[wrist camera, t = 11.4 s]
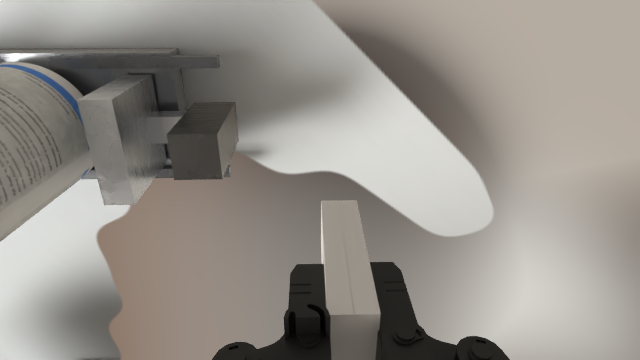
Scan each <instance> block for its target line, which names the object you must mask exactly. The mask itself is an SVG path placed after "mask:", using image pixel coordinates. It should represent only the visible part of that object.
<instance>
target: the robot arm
mask: <svg viewBox="0 0 640 360" xmlns="http://www.w3.org/2000/svg"><path fill="white" fill-rule="evenodd" d="M321 259H322V264H298V265H296V266H295V268H294V269H293V271H292V272H291V275H290V292H289V308H288V310H287V311H286V313H285V316H284V329H285V333H284V335H283V336H282V337H281V339H280V340H278V341H277V342H275V343H274V344H272V345H269V346H266V347H263V348H260V349H256V348H255V347H254V346H253V345H251V344H249V343H246V342H235V343H231V344H228V345H226V346H224V347H223V348H221V349H220V350H219V351H218V352H217V353H216V355H215V356H214V357H213V359H212V360H510V359H509V358H508V357H507V356H506V355H505V354H504V352H503V351H502V350H501V349H500V348H499V347H498V346H497V345H496V344H495V343H493V342H491V341H489V340H488V339H486V338H482V337H478V336H469V337H466V338H463V339H461V340H460V341H459V343H458V344H457V345H454V344H450V343H446V342H441V341H439V340H436V339H433V338H432V337H430V336H428V335H427V334H426V333H425V331H424V329H423V328H422V327H420V326H419V325H418V323H417V320H416V317H415V314H414V311H413V308H412V304H411V301H410V298H409V295H408V292H407V288H406V285H405V283H404V279H403V275H402V272H401V270H400V269H399V268H398V267H397V266H396V265H395V264H394V263H393V262H370V261H369V257H368V252H367V248H366V242H365V238H364V233H363V228H362V224H361V219H360V215H359V210H358V205H357V200H340V201H339V200H338V201H321Z"/></svg>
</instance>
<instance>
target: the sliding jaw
mask: <svg viewBox="0 0 640 360" xmlns="http://www.w3.org/2000/svg"><path fill="white" fill-rule="evenodd" d="M77 103H78V107H79V111H80V115H81V118H82V122H83V126H84V130H85V133H86V137H87V141H88V145H89V149H90V152H91V156H92V160H93V164H94V167H95V171H96V175H97V179H98V183H99V186H100V190H101V194H102V198H103V201H104V205H132V204H136V203H137V201H138V200H139V199H140V197H141V196H142V195H143V193H144V192H145V191H146V189H147V188H148V186H149V185H150V184H151V183H152V181H153V180H154V179H155V177H156V176H157V175H158V173H159V172H160V171H161V169H162V168H163V167H164V165H165V164H166V163H167V158H166V152H165V147H164V143H168V146H169V152H170V158H171V163H172V169H173V175H174V180H192V179H223V176H224V174H225V172H226V169H227V167H228V164H229V162H230V159H231V157H232V155H233V152H234V150H235V147H236V145H237V142H238V140H239V139H238V129H237V118H236V107H235V102H214V103H194V104H193V105H192V106H191V107H190V109H189V110H188V111H158V108H157V102H156V96H155V91H154V85H153V80H152V75H123V76H121V77H119V78H117V79H115V80H113V81H112V82H110V83H108V84H106V85H104V86H102V87H100V88H98V89H97V90H95V91H93V92H91V93H89V94H87V95H85V96H84V97H82V98H80V99H78V100H77Z"/></svg>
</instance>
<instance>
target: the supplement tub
mask: <svg viewBox="0 0 640 360" xmlns="http://www.w3.org/2000/svg"><path fill="white" fill-rule="evenodd" d="M82 97H84V96H83V95H82V94H81V93H80V92H79V90H78V89H76V88H75V87H74V86H73V85H72V84H71V83H70V82H69V81H67V80H66V79H64V78H63V77H61V76H60V75H58V74H57V73H55V72H53V71H51V70H49V69H46V68H44V67H41V66H38V65H34V64H29V63H23V62H9V63H2V64H0V241H2V240H3V239H4V238H6V237H7V236H8V235H9V234H11V233H12V232H13V231H15V230H16V229H17V228H18V227H20V226H21V225H22V224H23V223H25V222H26V221H27V220H29V219H30V218H31V217H32V216H34V215H35V214H36V213H38V212H39V211H40V210H41V209H43V208H44V207H45V206H47V205H48V204H49V203H50V202H52V201H53V200H54V199H55V198H57V197H58V196H59V195H61V194H62V193H63V192H64V191H66V190H67V189H68V188H69V187H71V186H72V185H73V184H75V183H76V182H77V181H78V180H80V179H81V178H82V177H83V176H84V175H86V174H87V173H88V172H89V171H90V170H91V169H92V167H93V166H94V164H93V160H92V156H91V152H90V149H89V145H88V141H87V137H86V133H85V130H84V126H83V122H82V118H81V115H80V111H79V107H78V103H77V100H78V99H80V98H82Z"/></svg>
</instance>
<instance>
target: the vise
mask: <svg viewBox="0 0 640 360" xmlns="http://www.w3.org/2000/svg"><path fill="white" fill-rule="evenodd" d="M9 62H23V63H29V64H34V65H38V66H41V67H44V68H46V69H49V70H51V71H53V72H55V73H57V74H58V75H60V76H61V77H63V78H64V79H66V80H67V81H69V82H70V83H71V84H72V85H73V86H74V87H75V88H76V89H78V90H79V92H80V93H81V94H82V95H83V96H85V95H87V94H89V93H91V92H93V91H95V90H97V89H98V88H100V87H102V86H104V85H106V84H108V83H110V82H112V81H113V80H115V79H117V78H119V77H121V76H123V75H152V80H153V85H154V91H155V96H156V102H157V108H158V111H187V109H186V102H185V96H184V89H183V82H182V75H181V68H219V67H220V63H219V55H178V48H172V49H0V64H2V63H9ZM164 147H165V152H166V158H167V163H166V164H165V165H164V167H163V168H162V169H161V171H160V172H159V173H158V175H157V176H156V177H155V178H174V175H173V169H172V163H171V158H170V152H169V146H168V143H164ZM230 176H231V167H230V165H228V167H227V169H226V172H225V174H224V176H223V177H230ZM81 179H97V175H96V171H95V167H94V166H93V167H92V169H91V170H90V171H89V172H88V173H87V174H86V175H84V176H83V177H82V178H81Z"/></svg>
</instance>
